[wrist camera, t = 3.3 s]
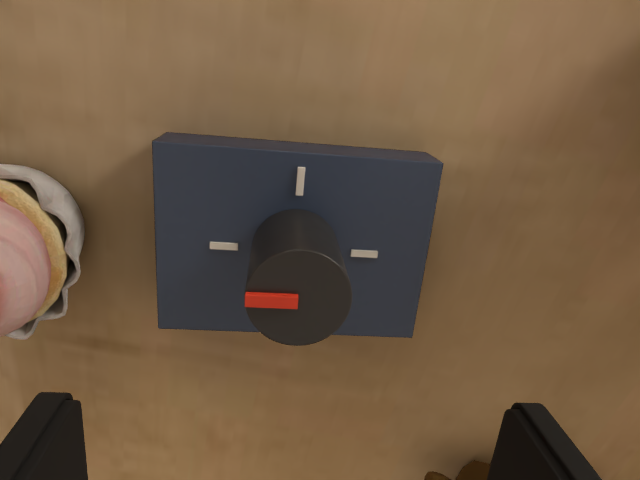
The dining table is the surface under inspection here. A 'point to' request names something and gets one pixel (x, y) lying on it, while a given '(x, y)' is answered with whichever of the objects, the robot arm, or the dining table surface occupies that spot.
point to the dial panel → (278, 195)
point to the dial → (297, 279)
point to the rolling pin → (465, 472)
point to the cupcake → (36, 249)
